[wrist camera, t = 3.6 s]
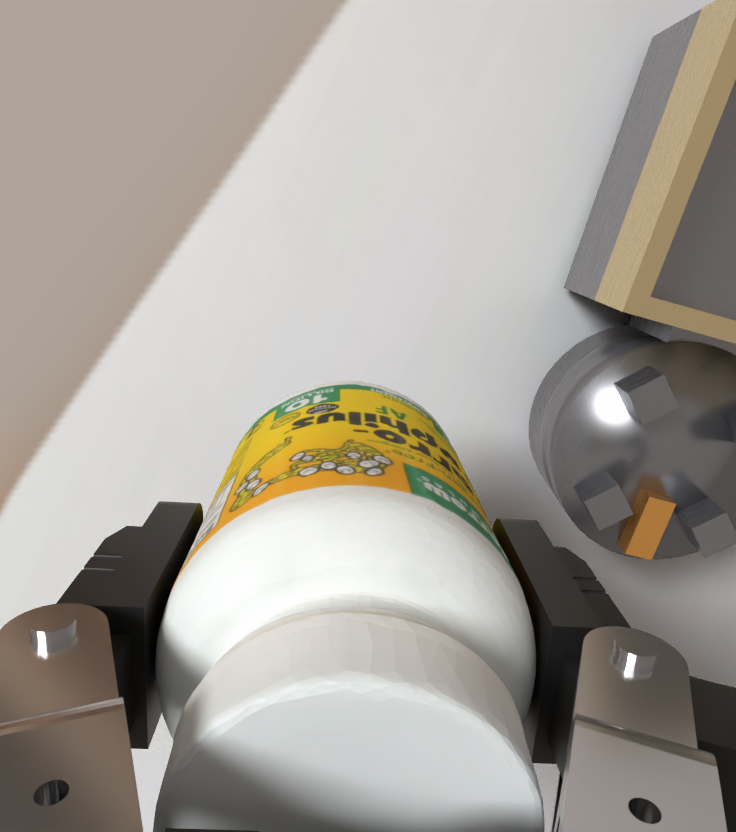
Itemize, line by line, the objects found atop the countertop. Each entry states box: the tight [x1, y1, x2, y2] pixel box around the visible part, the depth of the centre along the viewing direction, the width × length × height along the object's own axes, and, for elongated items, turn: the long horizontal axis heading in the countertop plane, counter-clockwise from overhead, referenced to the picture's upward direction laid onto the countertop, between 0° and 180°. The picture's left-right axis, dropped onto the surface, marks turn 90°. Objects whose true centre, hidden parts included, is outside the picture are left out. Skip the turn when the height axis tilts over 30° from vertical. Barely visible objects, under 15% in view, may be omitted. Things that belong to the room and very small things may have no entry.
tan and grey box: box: [529, 0, 736, 560], centre depth 18 cm, size 14×7×5 cm, turn 165°
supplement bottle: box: [153, 381, 544, 832], centre depth 11 cm, size 5×5×10 cm
